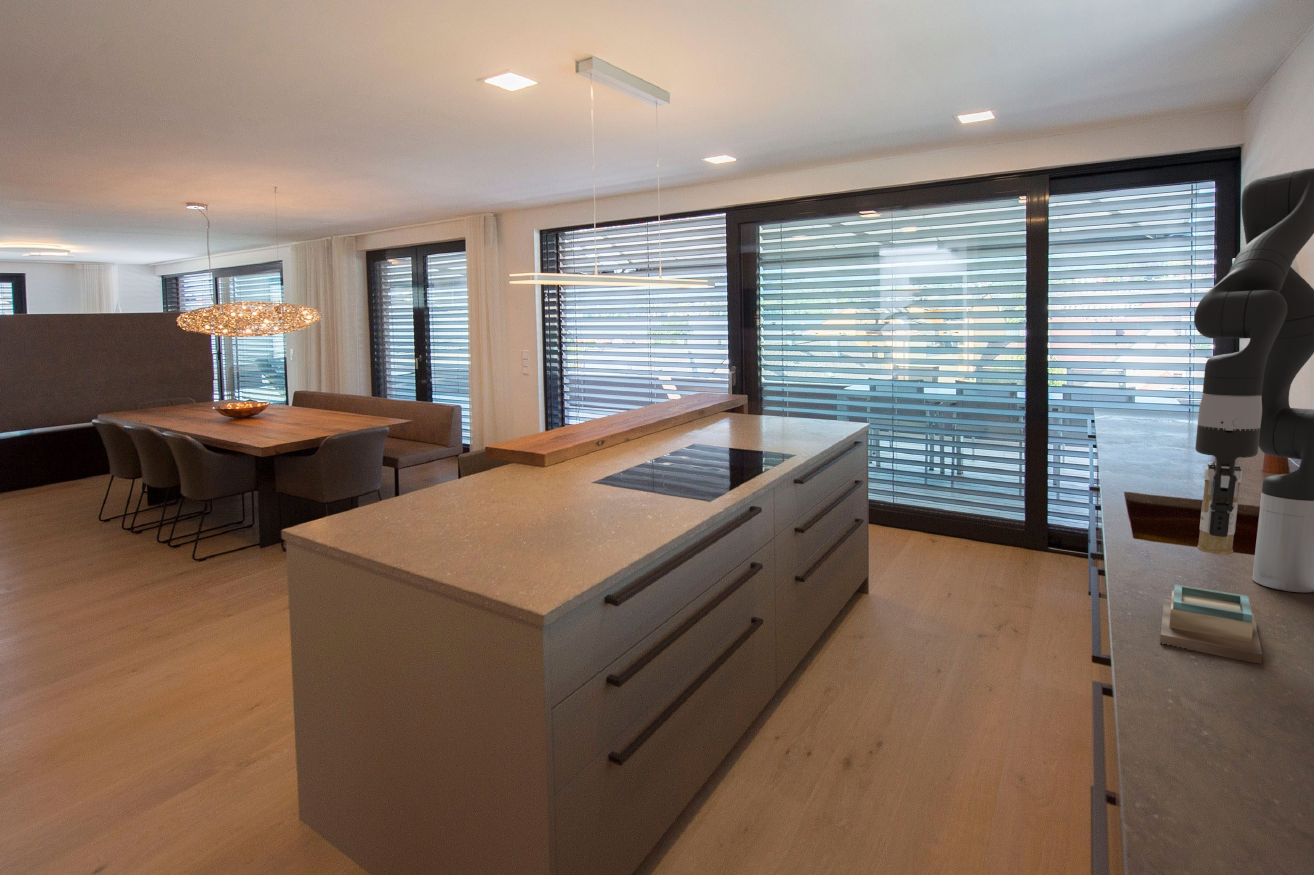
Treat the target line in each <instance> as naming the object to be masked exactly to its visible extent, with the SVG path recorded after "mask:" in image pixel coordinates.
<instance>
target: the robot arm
mask: <svg viewBox="0 0 1314 875" xmlns="http://www.w3.org/2000/svg"><path fill="white" fill-rule="evenodd" d="M1241 194H1242V195H1241V208H1240V209H1241V217H1242V224H1243V232H1244V236H1245V237H1244V238H1245V244H1246V245H1245V246H1244V247H1242V248H1241V250H1240V251H1239V252H1238V253H1237V255H1236V257H1235V259H1234V260H1233V263H1232V265H1231V267H1230V269H1229V271H1228V273H1227V275H1226V276H1224V277H1223V278H1222V279H1221V280H1220V281H1218V283H1216V284H1215V285H1214V286H1213V287H1212V288H1210V289H1209V291H1208V292H1207V293H1205V294H1204V296H1203V297H1202V298H1201V300H1200V301H1199V303H1198V305H1197V307H1196V309H1195V310H1194V311H1195V312H1194V315H1193V316H1194V317H1193V322H1194V326H1195V327H1194V328H1195V329H1196V330H1197V332H1198V333H1199V334H1200V335H1202V336H1203V337H1205V338H1209V339H1216V340H1217V339H1230V340H1231V339H1232V340H1233V339H1250V340H1249V342H1248V344H1247V345H1246V347H1244V348H1243V349H1242V350H1240V351H1237V352H1233V353H1232V352H1231V353H1226V354H1225V353H1223V354H1219V355H1214V356H1211V357H1209V358H1208V359H1207V360H1206V362H1205V366H1204V373H1203V374H1204V376H1203V385H1202V395H1201V396H1202V397H1201V400H1200V404H1199V408H1198V417H1197V429H1196V437H1195V438H1196V439H1195V451H1196V452H1197V453H1199V454H1201V455H1206V456H1213V457H1214V460H1212V461H1213V462H1212V463H1208V464H1207V467H1208V477H1209V487H1208V495H1209V496H1211V497H1212V500H1211V505H1210V509H1211V519H1210V529H1209V533H1210V535H1212V536H1220V537H1226V536H1227V535H1228V526H1229V516H1230V513H1231V512H1232V510H1233V508H1234V506H1233V499H1234V498H1235V497H1236V496H1237V488H1238V480H1239V479H1240V477H1241V471H1242V469H1241V466H1239V465H1236V461H1237V459H1238V458H1244V459H1245V458H1246V459H1247V458H1252V457H1253V458H1254V457H1256V456H1257V455H1258V454H1259V452H1258V451H1259V450H1260V451H1261V452H1262V453H1263V454H1265V455H1268V456H1273V457H1279V458H1286V459H1295V460H1301V461H1300V464H1299V467H1298V469H1296V470H1294V471H1292V472H1289V473H1284V474H1283V473H1282V474H1274V475H1270V476H1267V477H1264V478H1263V481H1262V485H1261V495H1260V504H1259V515H1258V522H1257V532H1256V542H1255V550H1254V551H1255V552H1254V559H1253V560H1254V561H1253V570H1252V580H1253V582H1254V583H1257V584H1258V585H1262V586H1264V587H1268V588H1271V589H1274V590H1281V591H1284V592H1295V593H1314V409H1312V408H1309V409H1308V408H1296V407H1293V408H1292V407H1291V406H1290V391H1291V386H1292V383H1293V381H1294V379H1295V378H1296V377H1297V375H1298V373H1299V372H1300V371H1301V370H1302V369H1303V367H1304V366H1305V364H1307V362H1308V361H1309V360H1310V358H1312V356H1313V355H1314V287H1313V286H1311V285H1310V283H1308V282H1307V280H1305V278H1304V277H1302V276H1301V274H1299V273H1298V272H1297V271H1296V270H1295V269H1293V267H1292V264H1293V263H1294V260H1295V259H1296V257H1297V255H1298V254H1299V253H1300V251H1301V250H1302V249H1303V248H1304V247H1305V245H1306V244H1307V243H1308V242H1309V240H1310V239H1311V238H1312V236H1313V235H1314V168H1305V169H1304V168H1303V169H1298V170H1294V171H1290V172H1284V173H1279V174H1274V175H1270V176H1269V175H1268V176H1265V177H1260V178H1256V179H1252V180H1250V181H1249V182H1247V183H1246V185H1245V186H1244V188H1243V191H1242V193H1241ZM1212 466H1214V467H1212ZM1213 471H1214V472H1215V476H1214V473H1213ZM1213 481H1214V488H1213ZM1218 497H1221V498H1227V499H1228V503H1219V502H1216V499H1217V498H1218Z"/></svg>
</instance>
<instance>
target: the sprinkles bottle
mask: <svg viewBox="0 0 1314 875" xmlns="http://www.w3.org/2000/svg"><path fill="white" fill-rule="evenodd" d="M1212 467H1214V466H1212ZM1213 473H1214V476H1215V472H1214V471H1213ZM1242 477H1243V471H1242V470H1241V477H1240V479H1239V480H1238V488H1237V496H1236V497H1235V498H1234V499H1233V506H1234V508H1233V510H1232V512H1231V513H1230V516H1229V526H1228V535H1227V536H1226V537H1220V536H1212V535H1210V533H1209V529H1210V519H1211V509H1210V505H1211V500H1212V497H1211V496H1209V495H1208V487H1209V477H1208V466H1206V467H1205V468H1204V473H1203V479H1204V486H1203V488H1204V489H1203V496H1202V504H1201V509H1200V510H1201V511H1200V522H1199V533H1198V534H1199V537H1198V544H1197V546H1196V547H1197V550H1198V551H1200V552H1202V553H1206V554H1209V555H1211V554H1212V555H1217V556H1230V555H1232V554H1234V549H1233V546H1234V537H1235V533H1236V525H1237V515H1238V507H1239V492H1240V485H1241V482H1242ZM1213 488H1214V481H1213ZM1216 502H1219V503H1228V499H1227V498H1221V497H1218V498H1217V499H1216Z"/></svg>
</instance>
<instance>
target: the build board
mask: <svg viewBox="0 0 1314 875" xmlns="http://www.w3.org/2000/svg"><path fill="white" fill-rule="evenodd" d="M1173 587H1174V589H1173V590H1171V598H1170V599H1168V598H1163V605H1162V606H1163V607H1162V618H1161V625H1160V626H1161V628H1160V636H1159V638H1160V640H1159V644H1160V643H1162V644H1161V645H1164V644H1167V645H1166V646H1169V645H1173V646H1172V647H1174V646H1177V647H1176V648H1179V647H1182V648H1181V649H1184V648H1187V649H1186V650H1190V651H1194V650H1195V651H1194V652H1200V653H1203V654H1208V655H1209V654H1210V655H1215V656H1219V657H1224V658H1229V659H1233V660H1234V659H1235V660H1239V661H1245V662H1249V663H1255V664H1259V665H1262V660H1263V652H1262V648H1261V646H1262V645H1261V641H1260V638H1259V633H1258V627H1257V623H1256V618H1255V614H1254V613H1252V608H1251V604H1250V599H1249V595H1246V594H1239V593H1233V592H1227V591H1219V590H1214V589H1213V590H1212V589H1209V588H1202V587H1195V586H1189V585H1182V584H1176V583H1175V584H1174V586H1173Z"/></svg>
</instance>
